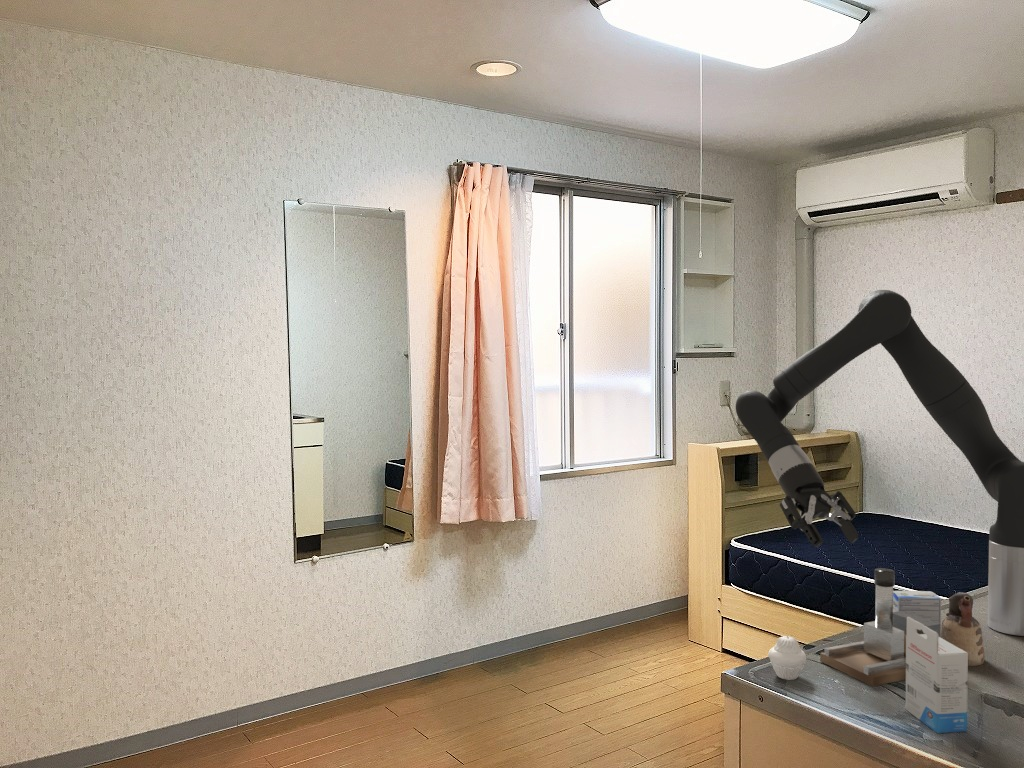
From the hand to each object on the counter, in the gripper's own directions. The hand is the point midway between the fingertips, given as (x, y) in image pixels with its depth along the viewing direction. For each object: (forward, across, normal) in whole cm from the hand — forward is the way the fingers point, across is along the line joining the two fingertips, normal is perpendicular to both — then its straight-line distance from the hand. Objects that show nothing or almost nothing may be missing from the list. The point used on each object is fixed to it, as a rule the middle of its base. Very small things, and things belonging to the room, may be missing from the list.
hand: (837, 542), depth 155 cm
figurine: (+24, +15, +4) cm, 29 cm away
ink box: (+35, -10, -8) cm, 37 cm away
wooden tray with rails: (+22, 0, +6) cm, 22 cm away
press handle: (+20, 0, +4) cm, 21 cm away
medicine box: (+16, +16, +12) cm, 26 cm away
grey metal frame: (+21, 0, +5) cm, 21 cm away
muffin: (+20, -19, +8) cm, 28 cm away
